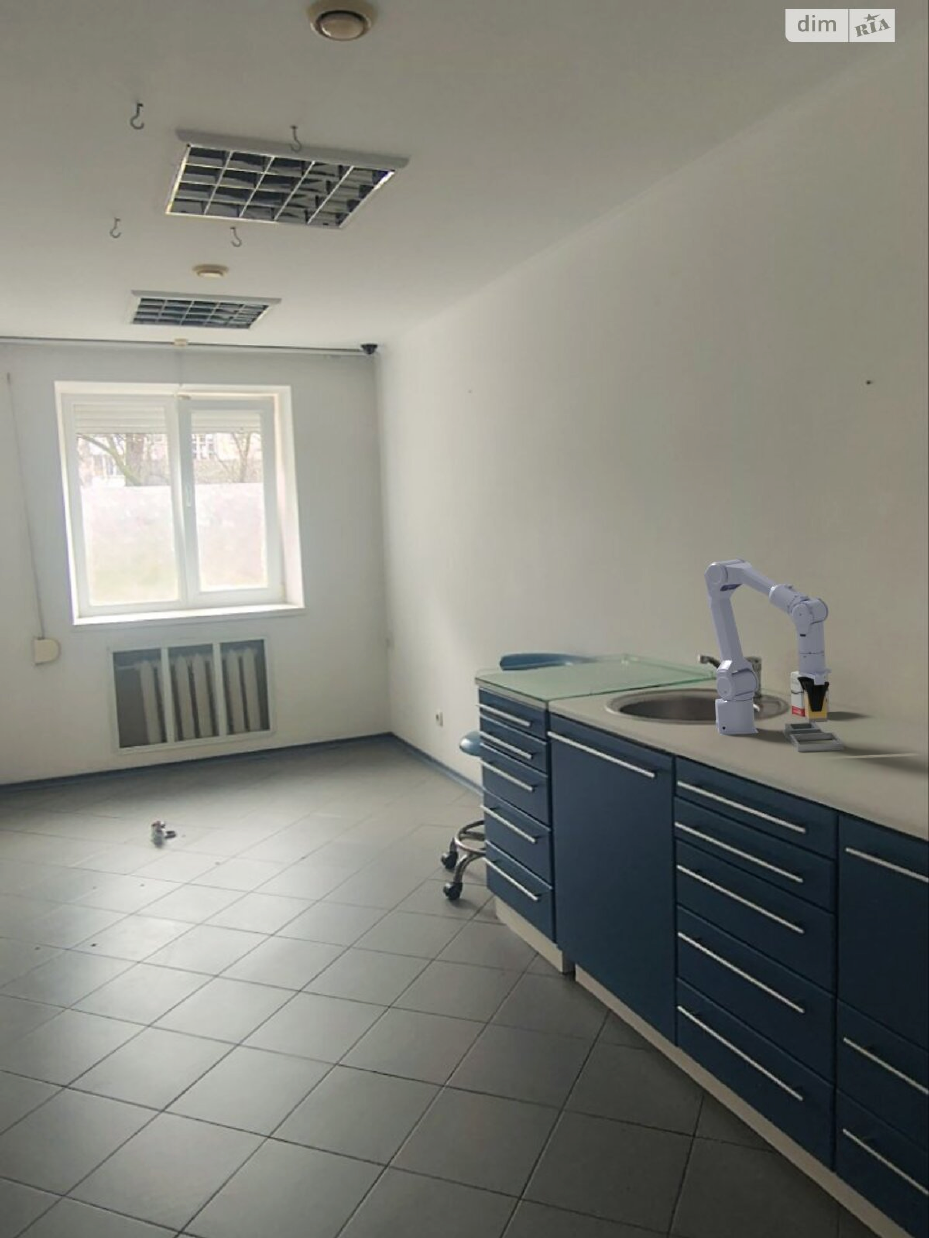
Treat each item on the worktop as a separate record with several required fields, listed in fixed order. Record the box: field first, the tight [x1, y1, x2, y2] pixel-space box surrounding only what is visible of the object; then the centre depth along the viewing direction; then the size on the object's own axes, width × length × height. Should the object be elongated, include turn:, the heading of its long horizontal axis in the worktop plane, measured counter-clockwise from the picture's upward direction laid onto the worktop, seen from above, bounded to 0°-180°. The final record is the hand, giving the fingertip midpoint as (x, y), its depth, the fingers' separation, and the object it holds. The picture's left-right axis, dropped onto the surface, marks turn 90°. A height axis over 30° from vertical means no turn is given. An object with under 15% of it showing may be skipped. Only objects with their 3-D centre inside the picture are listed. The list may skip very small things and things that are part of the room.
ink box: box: [790, 670, 830, 717], centre depth 233 cm, size 8×5×12 cm, turn 103°
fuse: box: [804, 689, 828, 723], centre depth 203 cm, size 4×4×7 cm
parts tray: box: [789, 732, 845, 753], centre depth 204 cm, size 10×10×2 cm
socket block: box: [780, 721, 823, 740], centre depth 215 cm, size 9×9×2 cm
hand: (814, 709), depth 203 cm, fingers closed on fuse, 4 cm apart
